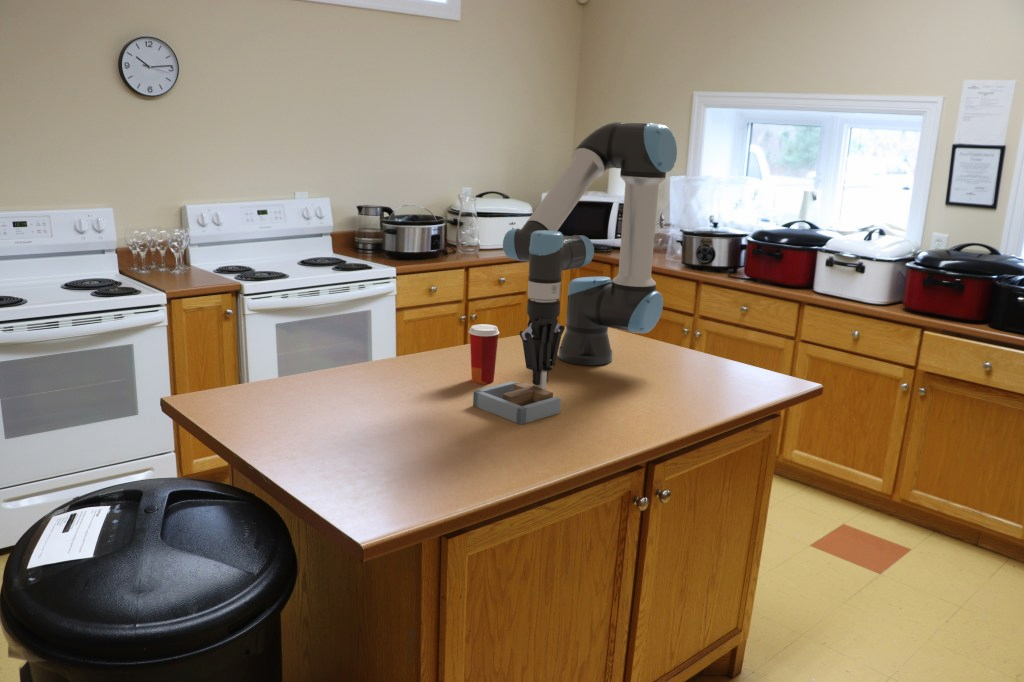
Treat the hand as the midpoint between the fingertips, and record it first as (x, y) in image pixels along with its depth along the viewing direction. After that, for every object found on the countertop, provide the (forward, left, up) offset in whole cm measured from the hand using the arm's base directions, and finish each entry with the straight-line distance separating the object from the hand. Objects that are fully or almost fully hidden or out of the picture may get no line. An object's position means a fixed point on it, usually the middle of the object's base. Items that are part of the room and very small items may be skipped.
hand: (539, 396), depth 199 cm
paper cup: (-21, +1, -2) cm, 21 cm away
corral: (0, -7, -2) cm, 7 cm away
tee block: (0, -6, -2) cm, 6 cm away
